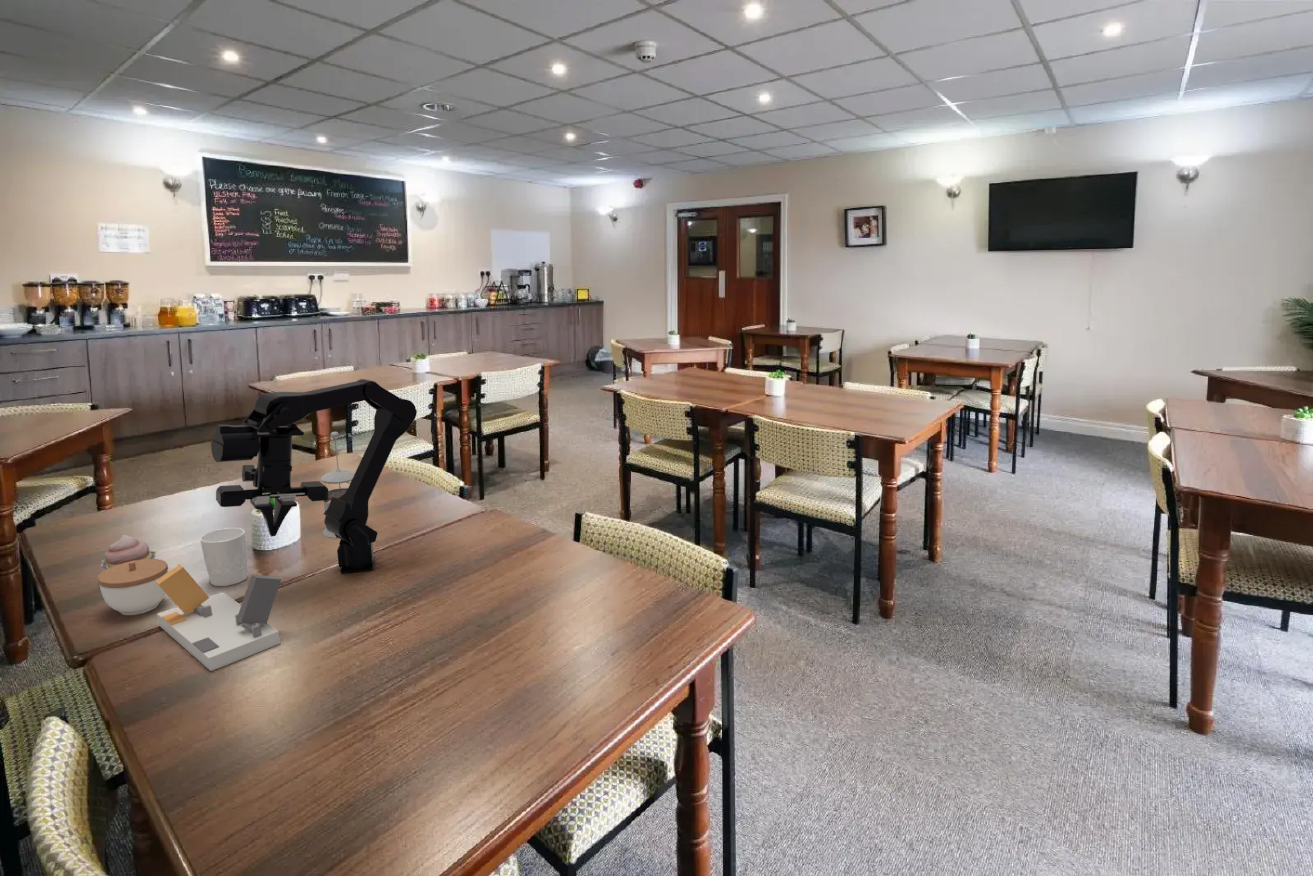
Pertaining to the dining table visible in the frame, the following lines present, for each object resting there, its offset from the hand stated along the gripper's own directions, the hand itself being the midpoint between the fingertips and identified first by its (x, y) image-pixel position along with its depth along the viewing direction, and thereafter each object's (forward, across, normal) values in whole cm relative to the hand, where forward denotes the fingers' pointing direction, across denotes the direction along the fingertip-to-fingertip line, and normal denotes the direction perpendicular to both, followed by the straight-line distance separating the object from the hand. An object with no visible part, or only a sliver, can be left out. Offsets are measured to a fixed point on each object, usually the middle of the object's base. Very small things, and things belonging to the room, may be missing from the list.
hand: (272, 535), depth 139 cm
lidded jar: (+15, +20, -9) cm, 27 cm away
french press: (+9, -22, -27) cm, 36 cm away
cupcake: (+15, +21, -24) cm, 35 cm away
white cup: (+13, +5, -13) cm, 19 cm away
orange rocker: (+12, +12, +4) cm, 18 cm away
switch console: (+14, +11, +11) cm, 21 cm away
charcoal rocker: (+11, +7, +18) cm, 22 cm away
